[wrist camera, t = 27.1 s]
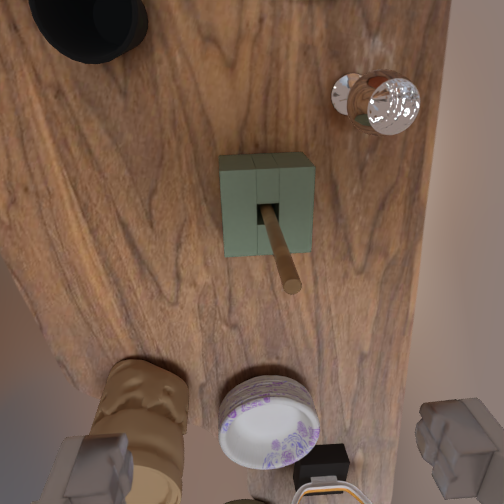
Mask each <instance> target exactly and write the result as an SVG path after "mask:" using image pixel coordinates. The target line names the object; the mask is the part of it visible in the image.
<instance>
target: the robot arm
mask: <svg viewBox="0 0 504 504" xmlns="http://www.w3.org/2000/svg"><path fill="white" fill-rule="evenodd" d="M419 413H420V414H421V417H422V419H421V420H420V421H419V422H418V423H417V424H416V429H415V437H416V443H417V446H418V449H419V451H420V453H421V455H422V457H423V459H424V460H425V461H426V462H428V463H429V464H430V465H432V466H433V471H432V477H433V478H434V480H435V482H436V484H437V486H438V488H439V490H440V491H441V493H442V495H443V497H444V499H445V500H447V499H459V498H472V497H477V498H476V499H477V500H478V501H479V502H480V503H481V504H504V429H503V428H502V427H501V425H500V424H499V423H498V422H497V420H496V419H495V418H494V417H493V415H492V414H491V413H490V411H489V410H488V409H487V408H486V406H485V405H484V404H483V403H482V401H481V400H479V399H478V398H469V399H459V400H456V399H455V400H446V401H437V402H428V403H423V404H422V405H421V407H420V411H419ZM127 445H128V438H127V435H126V433H113V434H99V435H85V436H73V437H66V438H65V440H64V441H63V442H62V443H61V446H60V448H59V451H58V454H57V456H56V459H55V461H54V464H53V466H52V469H51V471H50V474H49V477H48V479H47V482H46V484H45V487H44V489H43V492H42V494H41V497H40V499H39V501H33V502H32V503H31V504H126V501H125V497H126V496H127V495H128V494H129V492H130V491H131V488H132V482H133V470H134V465H133V457H132V453H131V452H130V451H129V450H128V449H127Z"/></svg>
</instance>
